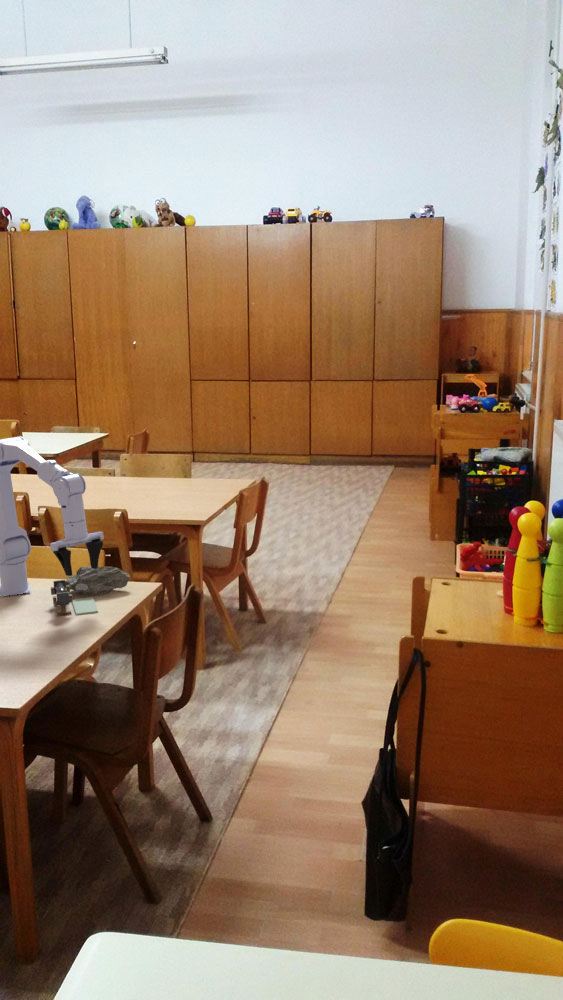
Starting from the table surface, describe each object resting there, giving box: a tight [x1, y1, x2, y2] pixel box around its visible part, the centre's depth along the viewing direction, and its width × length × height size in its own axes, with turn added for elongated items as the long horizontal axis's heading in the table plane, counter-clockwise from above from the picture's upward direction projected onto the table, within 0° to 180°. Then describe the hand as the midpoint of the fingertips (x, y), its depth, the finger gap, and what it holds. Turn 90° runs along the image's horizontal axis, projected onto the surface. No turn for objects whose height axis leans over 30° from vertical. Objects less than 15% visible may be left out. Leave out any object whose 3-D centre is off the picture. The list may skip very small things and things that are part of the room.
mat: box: [72, 596, 99, 616], centre depth 214 cm, size 12×6×1 cm, turn 19°
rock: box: [64, 565, 131, 595], centre depth 227 cm, size 18×10×10 cm
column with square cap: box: [52, 579, 71, 605], centre depth 211 cm, size 12×3×3 cm, turn 19°
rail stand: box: [50, 585, 74, 617], centre depth 212 cm, size 10×5×5 cm, turn 19°
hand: (82, 571), depth 210 cm, fingers open, 7 cm apart
